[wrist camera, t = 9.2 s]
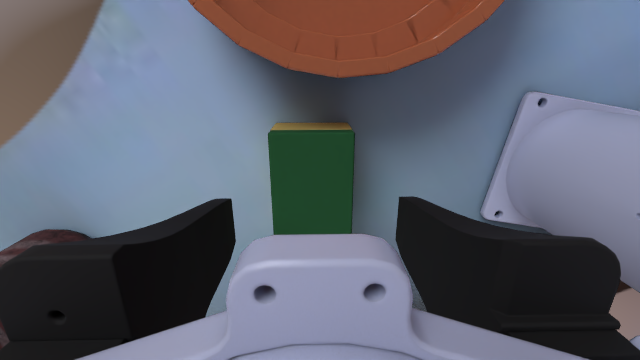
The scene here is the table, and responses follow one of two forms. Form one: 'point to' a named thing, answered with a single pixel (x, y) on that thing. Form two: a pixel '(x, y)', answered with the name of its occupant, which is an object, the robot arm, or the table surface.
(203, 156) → the table surface
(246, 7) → the bowl
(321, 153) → the sponge
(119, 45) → the table surface
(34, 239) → the can
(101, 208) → the table surface
